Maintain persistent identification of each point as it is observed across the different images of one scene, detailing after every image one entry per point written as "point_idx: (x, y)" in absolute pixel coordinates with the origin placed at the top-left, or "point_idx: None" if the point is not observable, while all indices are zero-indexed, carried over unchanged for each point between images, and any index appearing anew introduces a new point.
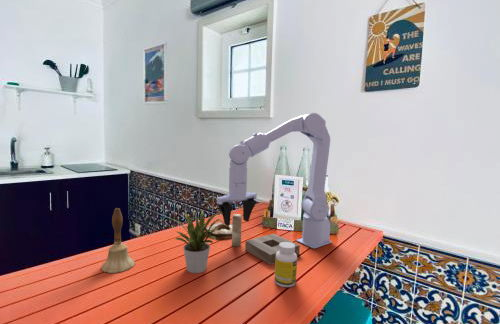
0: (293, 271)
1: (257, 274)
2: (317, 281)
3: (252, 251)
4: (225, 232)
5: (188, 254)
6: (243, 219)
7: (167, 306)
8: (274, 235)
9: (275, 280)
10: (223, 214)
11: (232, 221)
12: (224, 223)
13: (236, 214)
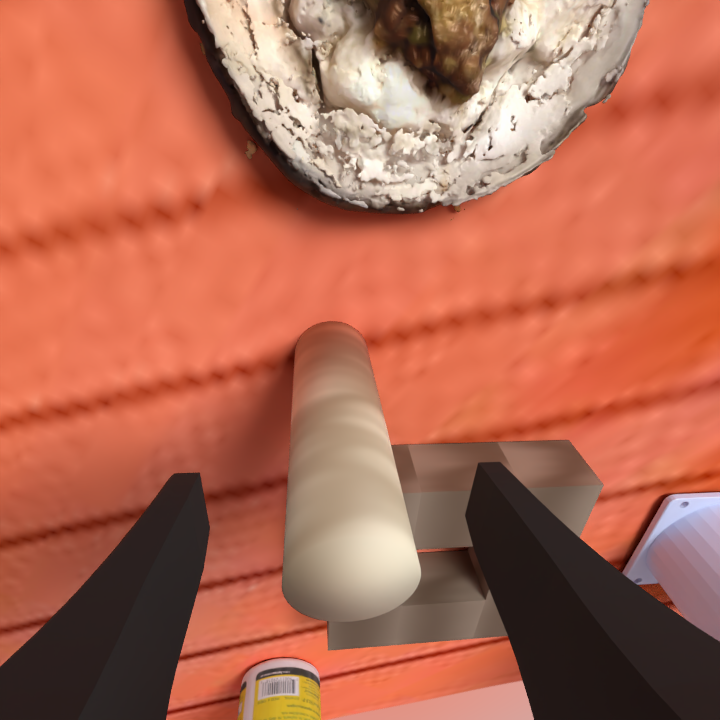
0: None
1: (222, 623)
2: (377, 695)
3: None
4: (362, 146)
5: None
6: (481, 465)
7: None
8: (572, 509)
9: (241, 687)
10: (100, 599)
11: (289, 497)
12: (167, 482)
13: (377, 550)
